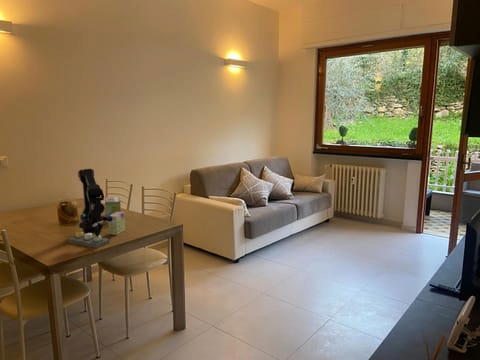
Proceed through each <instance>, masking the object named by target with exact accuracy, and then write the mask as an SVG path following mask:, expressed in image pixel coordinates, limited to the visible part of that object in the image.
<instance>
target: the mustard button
mask: <svg viewBox="0 0 480 360" xmlns="http://www.w3.org/2000/svg"><path fill="white" fill-rule="evenodd" d="M84 234H85V233H84V232H83V230H82V231H76V232H75V236H76V238H77V239H80V238H84Z"/></svg>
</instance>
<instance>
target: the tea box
mask: <svg viewBox="0 0 480 360" xmlns="http://www.w3.org/2000/svg"><path fill="white" fill-rule="evenodd" d="M121 206H122V205H121V199H120V196H119V197H118V196H117V197H116V196H115V197H104V207H105V209H104V212H105V214H104V215H108V216H109V215H111V214H113V213H115V212H122V209H121V208H122V207H121ZM105 223H106V224H108V221H107V220H106V221H105Z"/></svg>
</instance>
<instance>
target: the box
mask: <svg viewBox="0 0 480 360" xmlns="http://www.w3.org/2000/svg"><path fill="white" fill-rule="evenodd" d="M109 216H111V217H112V221H110V222H108V223H107V224H108V226H107V227H108V235H110V236H111V235H113V236H117V235H119V234H121V233H122V232H124V231H126V221H125V212H124V211H121V212H115V213H113V214H111V215H109Z"/></svg>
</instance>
